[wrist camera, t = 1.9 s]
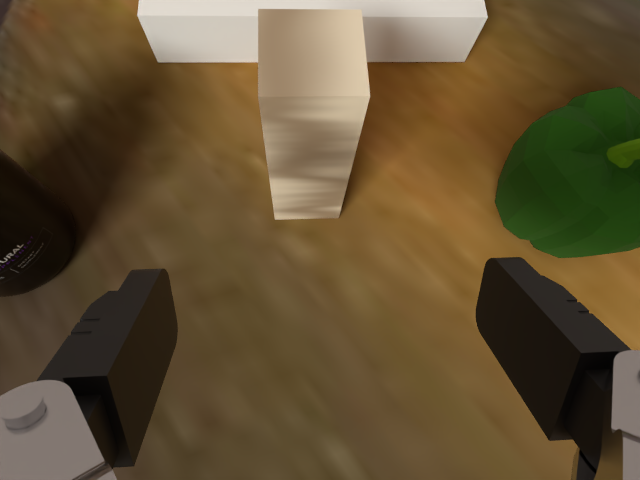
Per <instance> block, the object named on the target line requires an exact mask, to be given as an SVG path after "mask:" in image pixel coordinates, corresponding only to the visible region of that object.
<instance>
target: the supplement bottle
mask: <svg viewBox="0 0 640 480" xmlns="http://www.w3.org/2000/svg"><path fill="white" fill-rule="evenodd" d="M75 235H76V229H75V222H74V219H73V216H72V214H71V211H70V210H69V208H68V207H67V205H66V204H65V203H64V202H63V201H62V200H61V199H60V198H59V197H58V196H57V195H56V194H55V193H53V192H52V191H51V190H50V189H49V188H47V187H46V186H45V185H44V184H42V183H41V182H40V181H39V180H38V179H36V178H35V177H34V176H33V175H31V174H30V173H29V172H28V171H26V170H25V169H24V168H23V167H22V166H20V165H19V164H18V163H17V162H15V161H14V160H13V159H12V158H10V157H9V156H8V155H7V154H6V153H4V152H3V151H2V150H1V149H0V297H6V296H14V295H19V294H23V293H26V292H29V291H31V290H34V289H36V288H38V287H40V286H41V285H43V284H45V283H46V282H47V281H49V280H50V279H51V278H53V277H54V276H55V275H56V274H57V273H58V272H59V271H60V270H61V268H62V267H63V266H64V265H65V263H66V262H67V260H68V258H69V256H70V254H71V252H72V249H73V246H74V242H75Z"/></svg>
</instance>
